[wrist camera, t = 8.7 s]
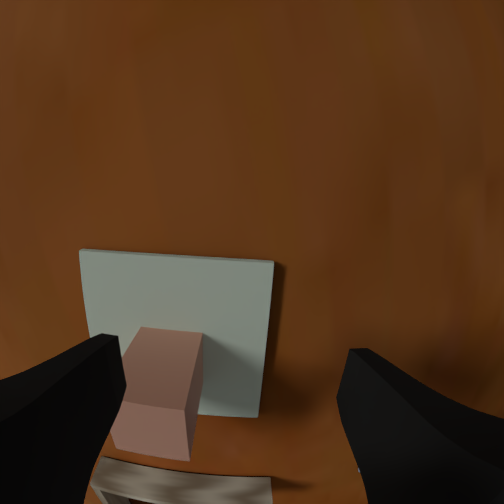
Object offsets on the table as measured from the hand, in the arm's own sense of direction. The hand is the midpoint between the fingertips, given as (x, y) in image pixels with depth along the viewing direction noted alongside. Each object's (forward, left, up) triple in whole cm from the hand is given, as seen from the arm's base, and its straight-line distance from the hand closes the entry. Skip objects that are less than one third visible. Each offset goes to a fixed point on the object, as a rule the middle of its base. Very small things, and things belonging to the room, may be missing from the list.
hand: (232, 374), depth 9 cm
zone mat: (+4, +5, -9) cm, 11 cm away
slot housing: (+4, +27, -9) cm, 29 cm away
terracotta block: (+4, +6, -9) cm, 11 cm away
